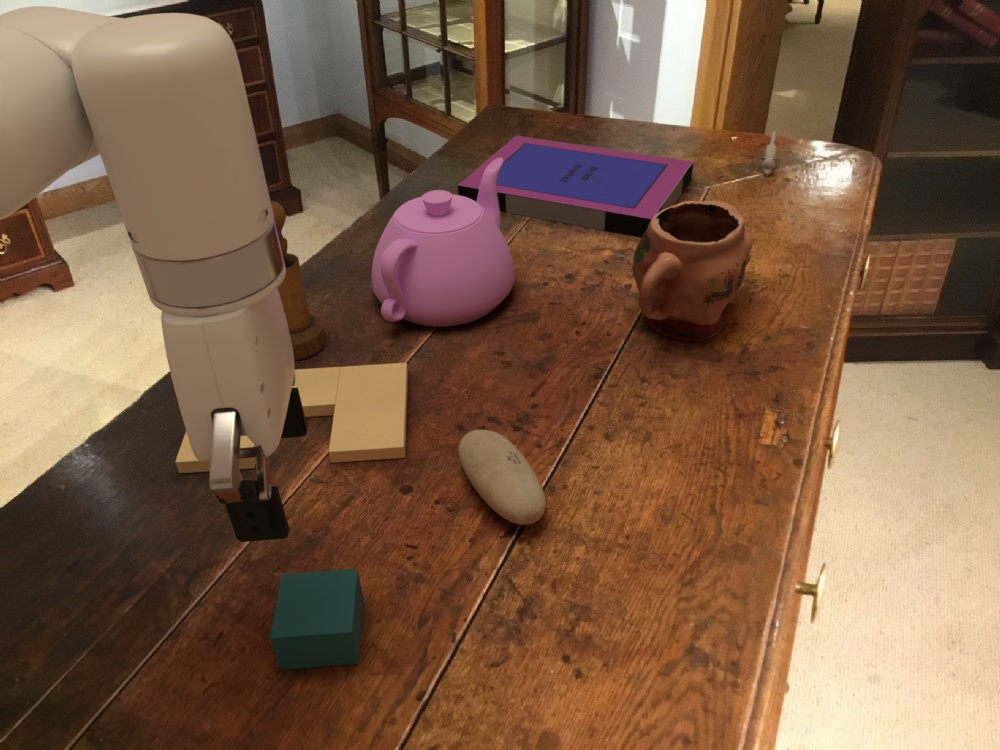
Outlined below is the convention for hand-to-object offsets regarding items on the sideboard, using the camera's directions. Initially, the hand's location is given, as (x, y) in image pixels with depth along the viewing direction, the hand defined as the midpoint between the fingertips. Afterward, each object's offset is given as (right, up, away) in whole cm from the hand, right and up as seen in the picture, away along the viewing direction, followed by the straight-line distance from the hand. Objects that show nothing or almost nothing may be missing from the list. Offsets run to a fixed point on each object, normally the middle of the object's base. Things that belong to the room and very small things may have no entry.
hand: (275, 482), depth 57 cm
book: (+27, +35, +74) cm, 86 cm away
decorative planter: (+36, +13, +43) cm, 58 cm away
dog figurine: (+58, +40, +78) cm, 105 cm away
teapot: (+9, +18, +51) cm, 55 cm away
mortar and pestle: (-9, +11, +43) cm, 45 cm away
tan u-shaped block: (-6, +3, +32) cm, 32 cm away
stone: (+15, -4, +22) cm, 27 cm away
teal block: (+1, -13, +10) cm, 17 cm away
